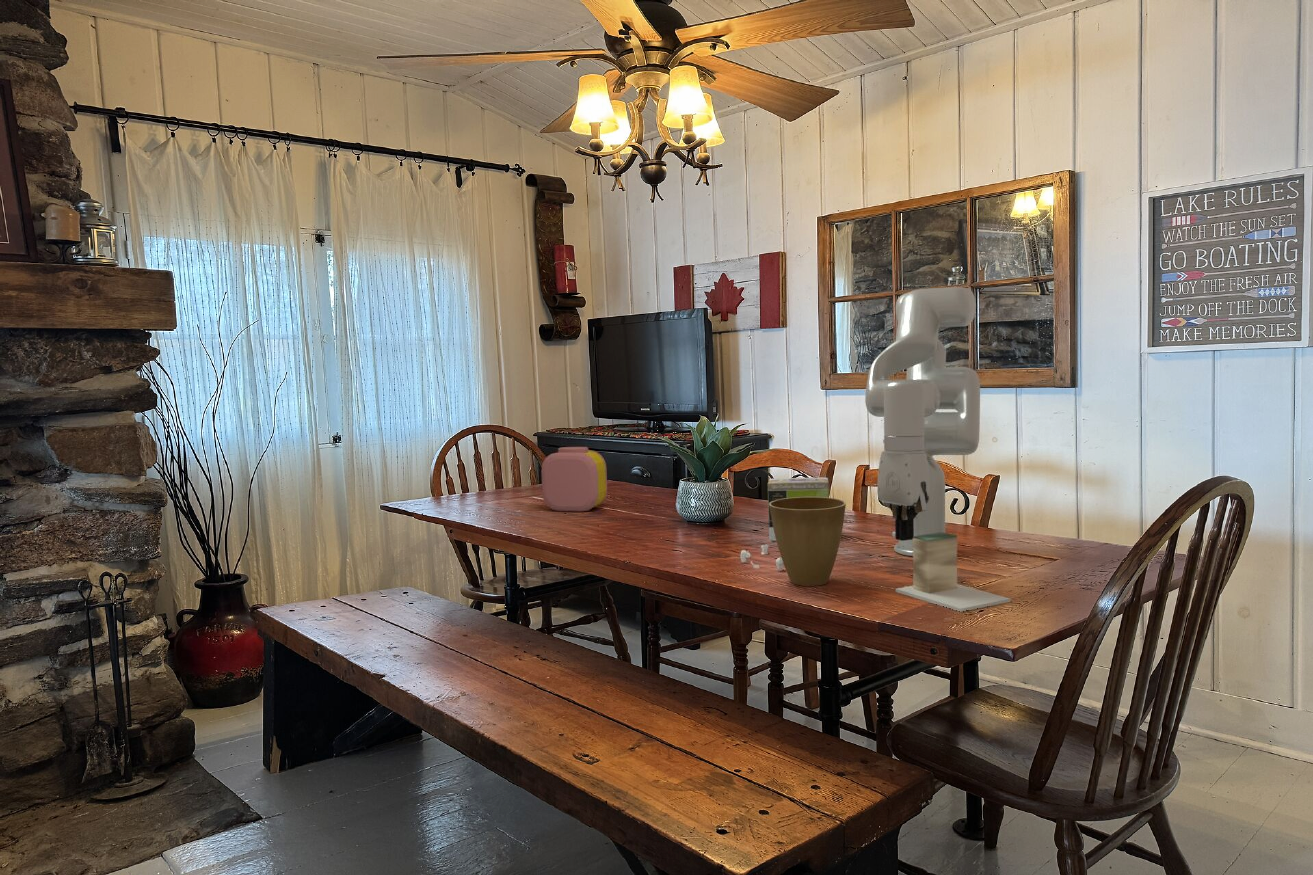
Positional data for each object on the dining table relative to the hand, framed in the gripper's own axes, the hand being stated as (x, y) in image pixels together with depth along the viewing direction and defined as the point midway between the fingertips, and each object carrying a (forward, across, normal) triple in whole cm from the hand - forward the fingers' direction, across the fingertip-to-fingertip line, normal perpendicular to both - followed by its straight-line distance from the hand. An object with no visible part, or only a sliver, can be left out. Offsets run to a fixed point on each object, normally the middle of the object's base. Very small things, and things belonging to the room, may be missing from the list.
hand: (904, 539), depth 168 cm
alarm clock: (+8, -124, -20) cm, 126 cm away
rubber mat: (+9, +12, 0) cm, 15 cm away
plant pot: (+9, -11, -15) cm, 21 cm away
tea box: (+8, -48, +10) cm, 50 cm away
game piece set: (+9, -29, -8) cm, 32 cm away
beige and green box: (+8, +8, 0) cm, 11 cm away
